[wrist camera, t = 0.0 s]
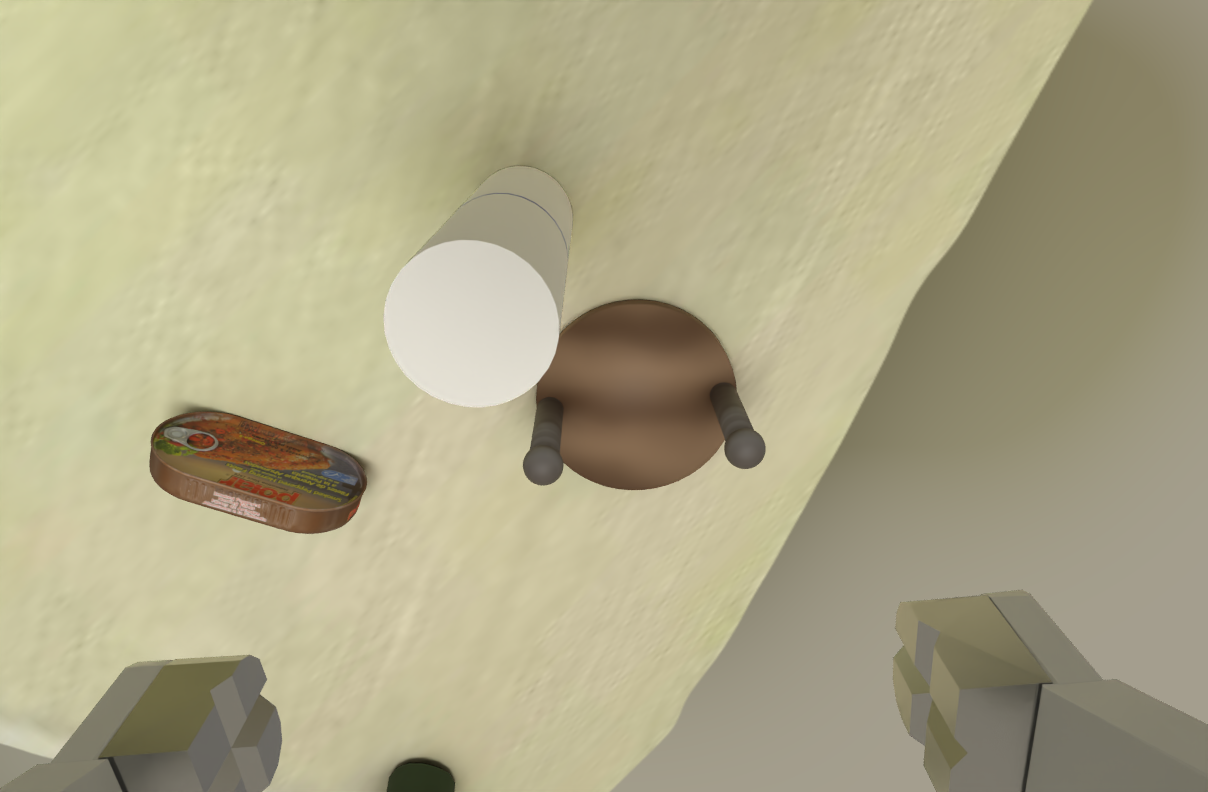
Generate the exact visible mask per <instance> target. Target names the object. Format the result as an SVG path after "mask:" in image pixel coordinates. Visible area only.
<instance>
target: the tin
mask: <svg viewBox="0 0 1208 792" xmlns="http://www.w3.org/2000/svg"><path fill="white" fill-rule="evenodd" d="M149 467H150V472H151V475H152V477H153V479H154V481H155V482H156V483H157V484H158V485H159V486H160V487H161V488H162V489H163V490H165V491H166V492H167V493H169V494H171V495H173V496H175V497H177V498H179V499H182V500H185V501H187V502H191V503H194V504H198V505H201V506H204V507H208V508H211V509H214V510H217V511H221V512H224V513H228V514H231V515H234V516H238V517H241V518H245V519H248V520H251V521H255V522H258V523H262V524H265V525H269V526H272V527H275V528H278V529H282V530H286V531H289V532H295V533H305V534H314V533H323V532H328V531H331V530H335V529H337V528H340V527H342V526H343V525H345V524H346V523H347V522H348V521H349V520H350V519H351V518H352V517H353V516H354V515H355V513H356V512H357V510H358V507H359V504H360V501H361V497H362V495H363V493H364V491H365V489H366V486H367V479H366V475H365V472H364V470H363V469H362V467H361V466H360V465H359V463H358V462H357V461H356V460H355V459H354V458H352V457H351V456H349V455H348V454H347V453H345V452H343V451H341V450H339V449H337V448H335V447H332V446H330V445H327V444H324V443H320V442H317V441H314V440H311V439H308V438H305V437H301V436H298V435H295V434H292V433H289V432H285V431H282V430H279V429H276V428H273V427H270V426H267V425H264V424H261V423H258V422H254V421H251V420H248V419H245V418H242V417H239V416H235V415H231V414H226V413H219V412H193V413H187V414H182V415H178V416H175V417H173V418H170V419H168V420H166V421H164V422H163V423H161V424H160V425H159V426H158V427H157V428H156V429H155V431H154V432H153V434H152V437H151V453H150V466H149Z"/></svg>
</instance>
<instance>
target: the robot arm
mask: <svg viewBox="0 0 1208 792" xmlns="http://www.w3.org/2000/svg"><path fill="white" fill-rule="evenodd" d="M895 629H896V631H897V632H898V635H899V637H900V639H901V640H902V642H903V644H904V646H903V647H902V648H901V649H900V650H899V651H898V653H897V654H896V655H895V656H894V658H893V683H894V690H895V697H896V702H897V705H898V709H899V712H900V715H901V718H902V720H903V723H904V725H905V727H906V729H907V731H908V734H909V735H910V736H911V737H913V738H914V739H916V740H917V741H918V742H920V743H922V744H923V745H924V746H925V752H924V767H925V769H926V771H927V773H928V775H929V778H930V780H931V782H932V784H933V786H934V788H935V790H936V792H1208V724H1206V723H1204V722H1202V721H1200V720H1198V719H1196V718H1194V717H1192V716H1190V715H1188V714H1186V713H1184V712H1182V711H1180V710H1178V709H1176V708H1174V707H1172V706H1170V705H1168V704H1166V703H1163V702H1162V701H1159V700H1157V699H1155V698H1153V697H1151V696H1149V695H1147V694H1145V693H1143V692H1141V691H1139V690H1137V689H1135V688H1133V687H1131V686H1129V685H1127V684H1125V683H1123V682H1121V681H1119V680H1117V679H1112V680H1103V679H1102V678H1101V677H1100V675H1099V674H1098V673H1097V672H1096V671H1095V669H1094V668H1093V667H1092V666H1091V665H1090V664H1089V662H1088V661H1087V660H1086V659H1085V658H1084V656H1083V655H1082V654H1081V653H1080V652H1079V651H1078V649H1077V648H1076V647H1075V646H1074V645H1073V644H1072V642H1071V641H1070V640H1069V639H1068V638H1067V637H1066V636H1065V634H1064V633H1063V632H1062V631H1061V629H1060V628H1059V627H1058V626H1057V625H1056V623H1055V622H1054V621H1053V620H1052V619H1051V618H1050V616H1049V615H1048V614H1047V613H1046V612H1045V611H1044V609H1043V608H1042V607H1041V606H1040V605H1039V603H1038V602H1037V601H1036V600H1035V599H1034V598H1033V596H1032V595H1031V594H1029V593H1027V592H1025V591H1023V590H1014V591H1004V592H995V593H985V594H981V595H980V596H967V597H954V598H943V599H931V600H920V601H908V602H900V605H899V607H898V610H897V615H896V626H895ZM266 681H267V678H266V675H265V673H264V670H263V667H262V665H261V662H260V659H258V658H256V657H254V656H252V655H238V656H221V657H204V658H187V659H175V660H162V661H147V662H137V663H135V664H132V665H130V666H128V667H126V668H125V669H124V670H123V671H122V673H121V674H120V675H119V676H118V678H117V679H116V680H115V682H114V683H113V684H112V685H111V687H110V688H109V689H108V690H107V692H106V693H105V694H104V696H103V697H102V698H101V699H100V701H99V702H98V703H97V704H96V706H95V707H94V708H93V710H92V711H91V712H90V713H89V715H88V716H87V717H86V718H85V720H84V721H83V722H82V724H81V725H80V726H79V727H78V729H77V730H76V731H75V732H74V734H73V735H72V736H71V738H70V739H69V740H68V741H67V743H66V744H65V745H64V746H63V748H62V749H61V750H60V752H59V753H58V754H57V755H56V757H55V758H54V759H53V760H52V762H51V763H48V764H37V765H36V766H34V767H33V768H31V769H29V770H28V771H26V772H25V773H23V774H22V775H20V776H19V777H17V778H15V779H14V780H12V781H11V782H9V783H7V784H6V785H4V786H3V787H1V788H0V792H262V791H263V790H264V789H266V788H267V787H268V786H269V785H270V783H271V781H272V778H273V776H274V773H275V771H276V769H277V766H278V762H279V756H280V750H281V744H282V734H281V722H280V719H279V716H278V712H277V709H276V707H275V706H274V705H273V704H272V703H270V702H269V701H268V700H267V699H265V698H264V697H263V696H261V695H260V692H261V690H262V688H263V686H264V684H265V682H266Z"/></svg>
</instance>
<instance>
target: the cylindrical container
mask: <svg viewBox="0 0 1208 792" xmlns="http://www.w3.org/2000/svg"><path fill="white" fill-rule="evenodd" d="M572 226H573V213H572V207H571V204H570V201H569V198H568V196H567V194H566V193H565V191H564V189H563V188H562V187H561V185H560V184H559V183H558V182H557V181H556V180H555V179H554V178H552V177H551V176H550V175H548V174H547V173H545V172H543V171H541V170H539V169H536V168H532V167H528V166H513V167H507V168H504V169H502V170H499V171H497V172H495V173H494V174H492V175H491V176H489V177H488V178H487V179H486V180H485V181H484V182H483V183H482V184H481V185H480V186H479V187H478V188H477V190H476V191H475V192H474V193H473V194H472V195H471V196H470V197H469V198H468V199H467V200H466V201H465V202H464V203H463V204H462V205H461V206H460V207H459V208H458V210H457V211H456V212H455V213H454V214H453V215H452V216H451V217H450V218H449V219H448V220H447V221H446V222H445V223H444V225H443V226H442V227H441V228H440V229H439V230H438V231H437V232H436V233H435V234H434V235H433V236H432V237H431V238H430V239H429V240H428V242H427V243H426V244H425V245H424V246H423V247H422V248H421V249H420V250H419V251H418V252H417V253H416V254H415V255H414V256H413V257H412V258H411V259H410V260H409V262H408V263H407V264H406V265H405V266H404V267H403V268H402V269H401V270H400V272H399V273H398V275H397V276H396V278H395V280H394V281H393V283H392V284H391V287H390V290H389V293H388V295H387V298H386V302H385V309H384V329H385V336H386V339H387V343H388V346H389V349H390V351H391V353H392V355H393V357H394V359H395V361H396V363H397V364H398V366H399V367H400V368H401V370H402V371H403V373H404V374H405V375H406V376H407V377H408V378H409V379H410V380H411V381H412V382H413V383H414V384H415V385H416V386H417V387H419V388H420V389H422V390H423V391H425V392H426V393H428V394H430V395H431V396H433V397H435V398H437V399H440V400H442V401H445V402H447V403H450V404H455V405H460V406H464V407H488V406H494V405H499V404H502V403H505V402H508V401H511V400H513V399H515V398H517V397H519V396H520V395H522V394H524V393H526V392H527V391H528V390H529V389H530V388H532V387H533V386H534V385H535V384H536V383H538V381H539V380H540V379H541V378H542V376H543V375H544V374H545V372H546V371H547V370H548V368H549V366H550V364H551V362H552V360H553V357H554V355H555V353H556V348H557V344H558V339H559V332H560V324H561V316H562V308H563V299H564V291H565V283H566V275H567V266H568V258H569V250H570V242H571V234H572Z"/></svg>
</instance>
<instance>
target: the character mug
mask: <svg viewBox="0 0 1208 792" xmlns="http://www.w3.org/2000/svg"><path fill="white" fill-rule="evenodd" d="M454 788H455V783H454V781H453V779H452V777H451V775H450V774H449V773H448V772H446V771H444V770H442V769H440V768H438V767H435V766H431V765H427V764H424V763H408V764H406V765H403V766H401V767H398V768H396V769H395V771H394V772H393V773H392V775H391V776H390V777H389V782H388V787H387V792H454Z"/></svg>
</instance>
